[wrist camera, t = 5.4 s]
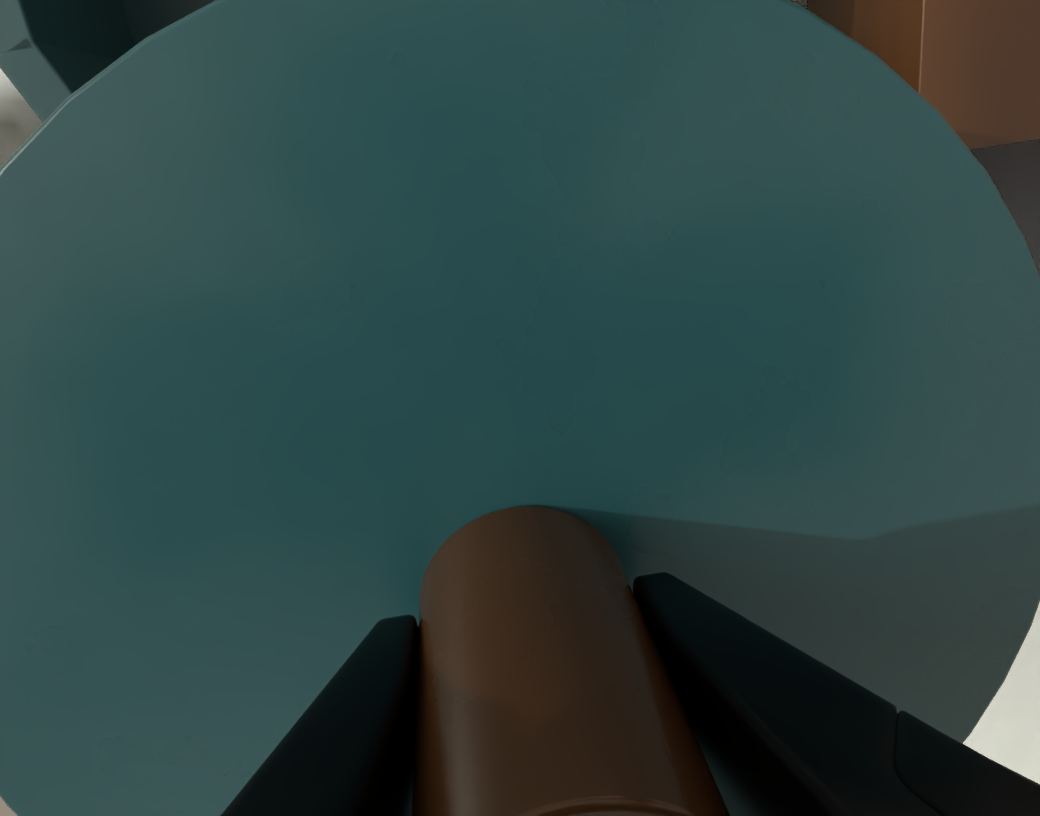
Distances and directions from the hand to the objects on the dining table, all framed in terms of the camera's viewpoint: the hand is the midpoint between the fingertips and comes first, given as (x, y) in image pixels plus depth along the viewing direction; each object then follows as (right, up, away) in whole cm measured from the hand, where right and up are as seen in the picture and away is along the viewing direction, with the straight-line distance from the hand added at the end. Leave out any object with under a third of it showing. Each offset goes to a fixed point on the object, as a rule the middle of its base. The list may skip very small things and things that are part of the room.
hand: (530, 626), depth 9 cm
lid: (0, 0, +1) cm, 1 cm away
